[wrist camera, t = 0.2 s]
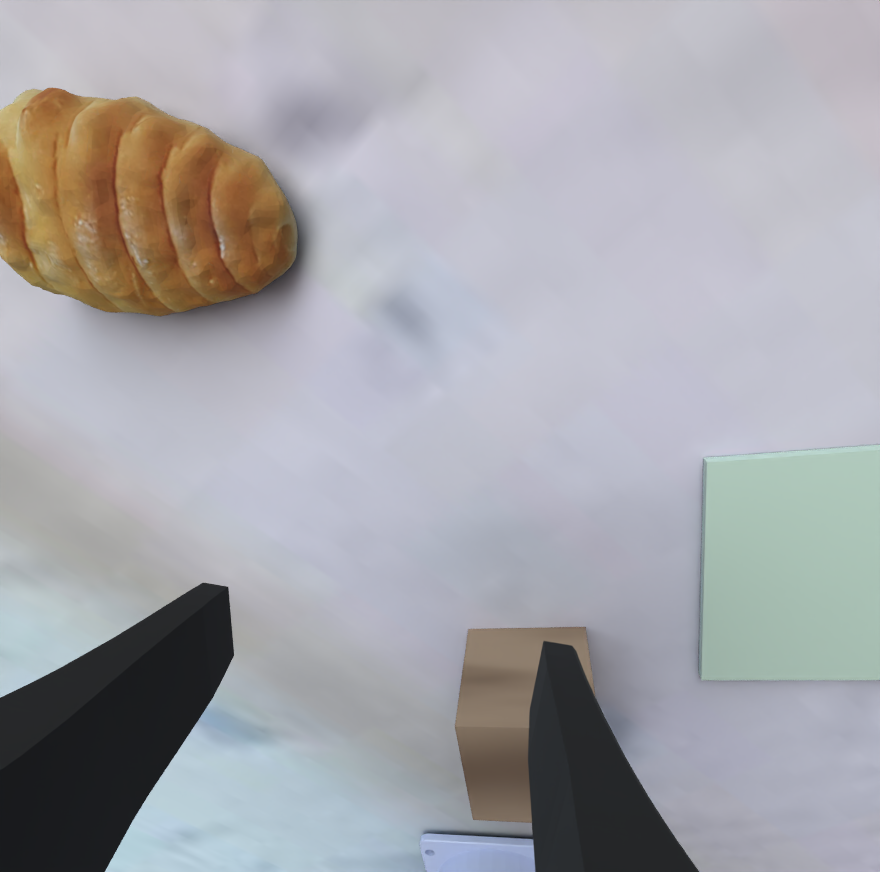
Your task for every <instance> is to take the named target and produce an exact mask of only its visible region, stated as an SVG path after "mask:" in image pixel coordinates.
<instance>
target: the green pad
mask: <svg viewBox="0 0 880 872" xmlns="http://www.w3.org/2000/svg"><path fill="white" fill-rule="evenodd" d="M699 675H700V678H701V680H880V445H869V446H856V447H842V448H829V449H815V450H802V451H788V452H775V453H761V454H748V455H734V456H721V457H708V458H704V463H703V506H702V549H701V592H700V635H699Z"/></svg>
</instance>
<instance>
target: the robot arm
mask: <svg viewBox="0 0 880 872" xmlns="http://www.w3.org/2000/svg"><path fill="white" fill-rule="evenodd" d="M233 656H234V649H233V638H232V626H231V614H230V603H229V591H228V587H225V586H220V585H214V584H208V583H202V584H200V585H199V586H197V587H195V588H193V589H192V590H190V591H188V592H187V593H185V594H184V595H182V596H180V597H179V598H177V599H176V600H174V601H172V602H171V603H169V604H168V605H166V606H164V607H163V608H161V609H160V610H158V611H157V612H155V613H153V614H152V615H150V616H149V617H147V618H145V619H144V620H142V621H140V622H139V623H137V624H135V625H134V626H132V627H131V628H129V629H127V630H126V631H124V632H122V633H121V634H119V635H118V636H116V637H114V638H113V639H111V640H109V641H107V642H106V643H104V644H102V645H100V646H98V647H97V648H95V649H93V650H91V651H90V652H88V653H86V654H84V655H83V656H81V657H79V658H77V659H76V660H74V661H72V662H70V663H68V664H67V665H65V666H63V667H61V668H59V669H57V670H56V671H54V672H52V673H50V674H48V675H46V676H44V677H42V678H40V679H38V680H36V681H34V682H32V683H30V684H28V685H26V686H24V687H22V688H20V689H18V690H16V691H14V692H11V693H9V694H7V695H5V696H3V697H1V698H0V872H105V870H106V868H107V867H108V865H109V863H110V861H111V859H112V857H113V856H114V854H115V852H116V850H117V848H118V847H119V845H120V843H121V841H122V839H123V837H124V836H125V834H126V832H127V830H128V828H129V826H130V825H131V823H132V821H133V819H134V818H135V816H136V814H137V813H138V811H139V809H140V808H141V806H142V805H143V803H144V801H145V800H146V798H147V796H148V795H149V793H150V792H151V790H152V789H153V787H154V786H155V784H156V783H157V781H158V780H159V778H160V777H161V775H162V774H163V772H164V771H165V769H166V768H167V766H168V765H169V763H170V762H171V760H172V759H173V757H174V756H175V754H176V753H177V751H178V750H179V748H180V747H181V745H182V744H183V742H184V741H185V739H186V738H187V736H188V735H189V733H190V732H191V730H192V729H193V727H194V726H195V724H196V723H197V721H198V720H199V718H200V717H201V715H202V714H203V712H204V710H205V709H206V707H207V706H208V704H209V703H210V701H211V700H212V698H213V696H214V694H215V692H216V690H217V688H218V687H219V685H220V683H221V681H222V679H223V677H224V675H225V673H226V671H227V669H228V667H229V664H230V662H231V660H232V658H233ZM528 769H529V785H530V800H531V815H532V830H533V839H522V838H504V837H485V836H467V835H449V834H431V833H427V834H423V835H422V836H421V838H420V849H421V853H422V857H423V861H424V864H425V868H426V872H699V871H698V869H697V868H696V867H695V865H694V864H693V862H692V861H691V860H690V858H689V857H688V855H687V854H686V852H685V851H684V850H683V848H682V847H681V845H680V844H679V842H678V841H677V840H676V838H675V837H674V835H673V834H672V832H671V831H670V829H669V828H668V826H667V825H666V823H665V822H664V820H663V819H662V817H661V816H660V814H659V812H658V811H657V809H656V808H655V806H654V805H653V803H652V801H651V800H650V798H649V797H648V795H647V793H646V792H645V790H644V788H643V787H642V785H641V783H640V782H639V780H638V778H637V776H636V775H635V773H634V771H633V769H632V768H631V766H630V764H629V762H628V761H627V759H626V757H625V755H624V753H623V752H622V750H621V748H620V746H619V744H618V742H617V740H616V738H615V736H614V734H613V732H612V730H611V728H610V727H609V725H608V723H607V721H606V719H605V717H604V715H603V713H602V711H601V708H600V706H599V704H598V702H597V700H596V698H595V695H594V693H593V691H592V689H591V687H590V684H589V682H588V680H587V677H586V675H585V672H584V670H583V668H582V665H581V662H580V660H579V657H578V654H577V651H576V650H575V649H574V647H573V646H572V645H566V644H560V643H554V642H548V641H543V646H542V651H541V656H540V660H539V665H538V670H537V675H536V680H535V685H534V690H533V695H532V700H531V705H530V712H529V739H528Z"/></svg>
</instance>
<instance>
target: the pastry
mask: <svg viewBox="0 0 880 872" xmlns="http://www.w3.org/2000/svg"><path fill="white" fill-rule="evenodd" d="M296 253H297V225H296V221H295V217H294V214H293V212H292V210H291V207H290V205H289V203H288V201H287V199H286V197H285V195H284V193H283V192H282V190H281V189H280V187H279V186H278V184H277V183H276V181H275V179H274V178H273V176H272V174H271V172H270V171H269V169H268V168H267V166H266V165H265V163H264V162H263V161H262V159H260V158H259V157H257V156H255V155H253V154H250V153H248V152H246V151H244V150H242V149H240V148H237V147H234V146H232V145H230V144H228V143H226V142H224V141H223V140H222V139H220V138H219V137H217V136H216V135H215V134H214V133H213V132H211V131H210V130H209V129H207V128H205V127H202V126H200V125H197V124H195V123H192V122H189V121H186V120H181V119H177V118H175V117H173V116H170V115H168V114H166V113H165V112H163V111H161V110H160V109H158V108H156V107H155V106H154V105H152V104H151V103H149V102H147V101H145V100H143V99H141V98H138V97H128V98H121V99H118V100H110V99H104V98H94V97H81V96H77V95H74V94H71V93H69V92H67V91H65V90H62V89H58V88H47V89H45V90H44V91H42V90H37V89H31V90H27V91H25V92H23V93H21V94H20V95H19V96H18V97H16V99H15V100H14V102H13V103H12V104H10V105H8V106H6V107H5V108H3V109H1V110H0V256H1V258H2V259H3V260H4V261H5V262H7V263H8V264H9V265H10V266H11V267H12V268H13V270H14V271H16V272H17V273H18V274H19V275H20V276H21V277H23V278H24V279H25V280H26V281H27V282H29V283H30V284H31V285H32V286H37V287H40V288H42V289H43V290H47V291H49V292H52V293H54V294H61V295H66V296H69V297H72V298H74V299H77V300H79V301H81V302H83V303H84V304H87V305H90V306H92V307H94V308H97V309H100V310H103V311H106V312H115V313H117V312H132V313H142V314H148V315H155V316H164V315H168V314H171V313H178V312H184V311H188V310H191V309H194V308H197V307H201V306H209V305H212V304H215V303H219V302H222V301H230V300H233V299H237V298H240V297H243V296H247V295H250V294H255V293H258V292H259V291H260V290H261V289H263V288H264V287H265V286H267V285H268V284H270V283H271V282H272V281H273V280H275V279H277V278H278V277H280V276H281V275H283V274H284V273H285V272H286V271H287V270H288V269H289V268H290V267H291V265H292V264H293V262H294V261H295V259H296Z"/></svg>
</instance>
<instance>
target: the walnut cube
mask: <svg viewBox="0 0 880 872" xmlns="http://www.w3.org/2000/svg"><path fill="white" fill-rule="evenodd" d="M543 641H548V642H554V643H560V644H566V645H572V646H573V647H574V649H575V650H576V651H577V654H578V657H579V660H580V662H581V665H582V668H583V670H584V672H585V675H586V677H587V680H588V682H589V684H590V687H591V689H592V691H593V693H594V695H595V692H594V685H593V678H592V670H591V663H590V656H589V649H588V642H587V635H586V627H554V628H500V629H468V636H467V643H466V650H465V658H464V665H463V672H462V679H461V686H460V693H459V701H458V708H457V715H456V722H455V730H456V735H457V740H458V745H459V750H460V755H461V760H462V765H463V771H464V776H465V781H466V786H467V791H468V796H469V801H470V806H471V811H472V817H473V820H488V821H507V822H527V823H532V815H531V800H530V785H529V769H528V739H529V712H530V705H531V700H532V695H533V690H534V685H535V680H536V675H537V670H538V665H539V660H540V656H541V651H542V646H543Z"/></svg>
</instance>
